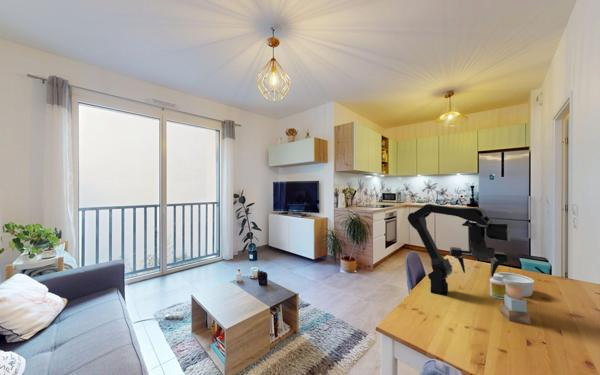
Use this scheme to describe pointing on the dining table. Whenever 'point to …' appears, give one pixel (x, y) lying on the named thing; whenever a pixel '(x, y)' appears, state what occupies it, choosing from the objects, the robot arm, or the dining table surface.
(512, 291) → the terracotta dowel
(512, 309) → the slate block
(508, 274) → the ramekin
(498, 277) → the supplement bottle
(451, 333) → the dining table surface
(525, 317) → the walnut base block
